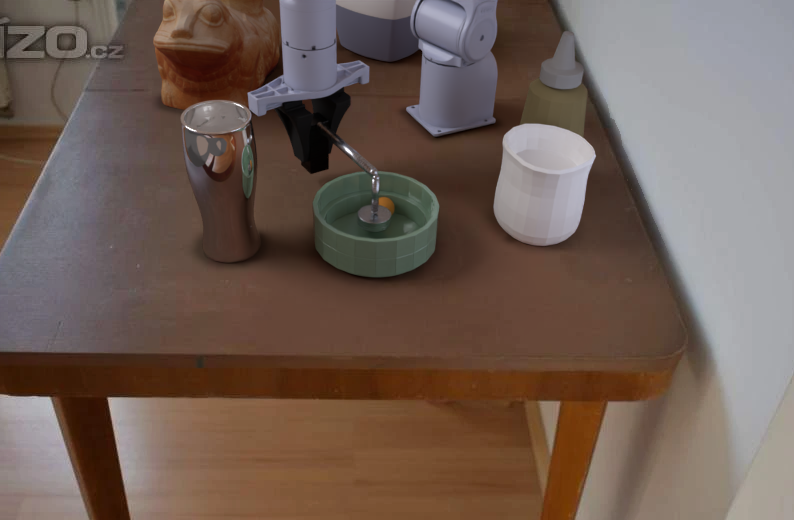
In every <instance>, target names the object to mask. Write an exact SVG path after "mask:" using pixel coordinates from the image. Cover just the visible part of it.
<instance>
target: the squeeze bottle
mask: <svg viewBox="0 0 794 520" xmlns="http://www.w3.org/2000/svg"><path fill="white" fill-rule="evenodd" d="M561 34H562V35H561V36H560V40H559V42H558V45H557V46H556V49H555V52H554V55H553V57H551V58H547V59H545V60H544V61H542V62H541V67H540V73H539V76H538V77H537V78H536V79H534V80H532V81H531V82H530V84H529V88H528V90H527V95H526V99H525V102H524V106H523V110H522V115H521V118H520V122H519V125H522V124H544V125H551V126H556V127H559V128H563V129H566V130H569V131H571V132H574V133H576V134H578V135H580V136H581V137H583V138H584V133H585V132H584V131H585V123H586V111H587V103H588V93H589V92H588V91H589V90H588V89H587V87H586V86H585V85H584V84H583V83H582V81H583V77H584V72H585V68H584V66H583V65H582V63H580V62H578V61H577V60H576V47H575V44H576V43H575V33H574V32H573V31H571V30H565V31H563V32H562V33H561Z"/></svg>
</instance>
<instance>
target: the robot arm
mask: <svg viewBox="0 0 794 520" xmlns="http://www.w3.org/2000/svg"><path fill="white" fill-rule="evenodd" d="M278 1H279V16H280V17H279V18H280V35H281V51H282V69H283V70H282V71H283V74H282V75H279V76H278V77H277V78H275V79H273V80H272V81H269V82H268V83H266V84H265V85H262V86H261V87H260V88H259V89H257V90H254V91H252V92H248V103H249V110H250V112H251V113H253V114H255V115H256V116H257V117H262V116H265V115H267V111H270V110H274V111H275V112H276V114H277V116H278V118H279V119H280V122H282V125H283V128H284V129H285V131H286V134H287V136H288V139H289V141H290V145H291V148H292V151H293V155H294V157H295V158H296V159H298V160H299V161H300V162H301V161H302V162H303V163H305V162H308V160H309V152H310V145H309V136H310V128H311V123H312V119H313V116H314V114H312V113H316V112H319V113H320V114H321V115H323V116H324V117H325V118H326V119H327V120H328V121H329V128H330V129H331V130H332V131H334V132H335V133H336V134H337V132H338V129H339V126H340V125H341V122H342V120H343V118H344V116H345V115H346V113H347V111H348V109H349V108H350V107H351V106H352V105H351V104H352V97H351V95H350V94H349V93H347V92H345V87H349V86H352V85H355V84H358V83H359V84H360V85H366V84H369V83H370V66H369V65H368V64H366V63H364V62H363V61H361V60H355V61H349V62H344V63H343V62H342V63H337V59H338V57H337V56H338V55H337V53H338V52H337V28H336V0H278ZM498 1H499V0H416V2H415V5H414V7H413V10H412V13H411V19H410V25H411V30H412V33H413V35H414V36H415V37H416V38H417V39H419V47H418V48H419V50H421V51H422V52H421V53H422V54H421V55H422V56H421V68H420V86H419V102H418V104H414V105H409V106H407V107H406V109H405V110H406V111H405V112H407V113H408V114H409V115H410V116H411V117H412V118H413V119H414V120H415V121H416V122H417V123H419V124H420V125H421V126H422V128H424V129H425V130H426V131H427V132H428V133H430V135H431V136H433V137H436V138H437V137H441V136H445V135H449V134H454V133H458V132H462V131H466V130H470V129H471V130H472V129H475V128H481V127H484V126H489V125H493V124H495V123H496V120H497V119H496V118H495V117H494V110H495V101H496V93H497V84H498V75H499V74H498V73H499V71H498V64H497V59H496V58H495V56H494V54H493V52H492V51H491V50H492V48H493V46H494V44H495V42H496V38H497V35H498V21H497V20H498V19H497V7H498V6H497V5H498ZM306 100H310V102H311V107H312V112H311V111H310V110H308V109H307V108H306V103H304V102H303V101H306ZM333 146H334V144H333V143H332V142H331V141H330V140H329V155H331V154H332V151H333Z"/></svg>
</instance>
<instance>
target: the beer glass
mask: <svg viewBox="0 0 794 520" xmlns="http://www.w3.org/2000/svg"><path fill="white" fill-rule="evenodd" d="M180 124H181V127H180V128H181V141H182V151H183V159H184V166H185V170H186V175H187V178H188V181H189V184H190V187H191V190H192V193H193V195H194V198H195V201H196V204H197V206H198V209H199V212H200V216H201V221H202V240H201V241H202V242H201V248H202V251H203V253H204V255H205V256H206V257H208V258H209V259H211V260H213V261H216V262H220V263H228V264H229V263H230V264H231V263H239V262H242V261H243V262H244V261H245V260H248V259H250V258H252V257H253V256H254V255H255V254H257V253H258V251H259V250H260V248H261V238H260V233H259V231H258V229H257V224H256V221H255V200H256V192H257V181H258V152H257V151H258V150H257V141H256V136H255V130H254V125H253V119H252V111H251V110H249V109H248V108H247V107H245V106H244V105H242V104H240V103H237V102H233V101H227V100H210V101H204V102H200V103H197V104H194V105H192V106H190V107H188V108H187V109H186V110H183V111H182V113H181V115H180Z"/></svg>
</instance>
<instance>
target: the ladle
mask: <svg viewBox="0 0 794 520" xmlns="http://www.w3.org/2000/svg"><path fill="white" fill-rule="evenodd" d="M311 113H312V114H314V116H313V119H312V123H311V128H310V136H309V145H310V152H309V160H308V162H305V163H303V162H302V161H300V165H301V167H303V168H304V169H305V170H306V172H308V173H309V174H310V175H314V174H317V173H320V172H323V171H327V170H329V169H330V168H329V167H330V161H329V160H330V157H329V156H330V154H329V140H330V141H331V142H332V143H333V146H335V147H336V148H338V150H340V151H341V152H342V153H343V154H344V155H345V156H347V157H348V158H349V159H350V160H351V161H352V162H353V163H355V164H356V165H357V166H358V167H359V168H360V169H361V170H363V172H364V171H365V172H366V173H367V174H368V175H369V176H371V177H372V195H371V205H366V206H363V207H362V208H360V209H359V211H358V217H357V223H358V225H359V227H360V228H362V229H363V230H365V231H369V232H381V231H384V230H386V229H388V228H389V227H390V225H391V212H390V210H389V209H388V208H386V207H384V206H381V205H379V187H380V177H379V175H378V171H379V170H378V168H377V167H376V166H374V165H373V164H372V163H371V162H370V161H368V160H367V159H366V158H365V157H364V156H363V155H361V154H360V153H359V151H357V150H356V149H354V147H352V146H351V145H350V144H349V143H347V142H346V141H345V139H343V138H342V137H340V136H339V134H337V132H336V133H335V132H334V131H332V130H331V129H330V128H329V121H328V120H327V119H326V118H325V117H324V116H323V115H321V114H320V113H319V112H316V113H313V112H311Z"/></svg>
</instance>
